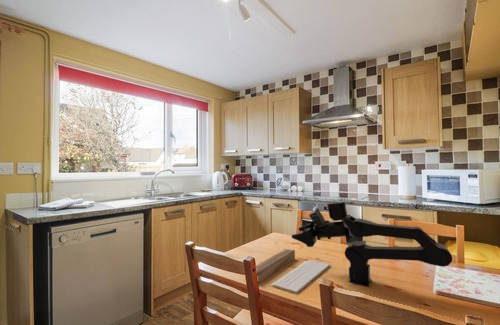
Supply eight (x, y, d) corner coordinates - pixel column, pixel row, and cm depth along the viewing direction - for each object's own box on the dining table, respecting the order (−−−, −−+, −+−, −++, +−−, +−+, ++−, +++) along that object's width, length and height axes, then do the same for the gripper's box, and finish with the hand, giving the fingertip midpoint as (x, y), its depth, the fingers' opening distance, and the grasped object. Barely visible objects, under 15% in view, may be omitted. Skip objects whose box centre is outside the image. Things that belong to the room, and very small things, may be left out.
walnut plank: (294, 258, 121) (294, 250, 121) (258, 283, 95) (257, 272, 95) (285, 256, 124) (285, 248, 124) (247, 280, 98) (246, 270, 98)
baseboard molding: (266, 286, 94) (296, 296, 86) (266, 278, 94) (296, 287, 87) (304, 261, 118) (330, 267, 111) (304, 255, 118) (329, 260, 111)
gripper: (332, 203, 109) (297, 208, 117) (322, 216, 93) (282, 220, 101) (338, 229, 109) (303, 232, 117) (329, 246, 93) (289, 248, 100)
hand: (295, 232), depth 109 cm, fingers open, 9 cm apart
